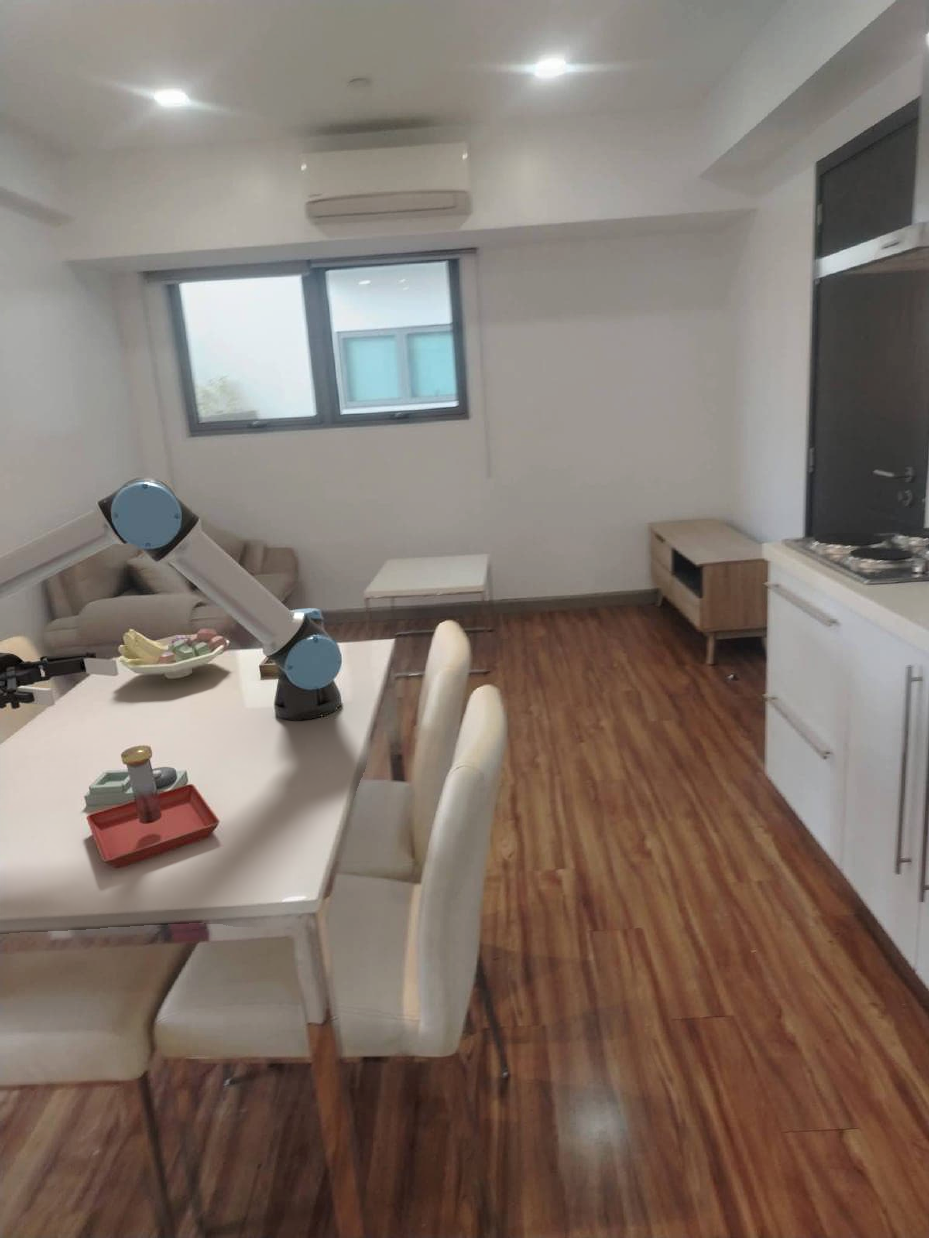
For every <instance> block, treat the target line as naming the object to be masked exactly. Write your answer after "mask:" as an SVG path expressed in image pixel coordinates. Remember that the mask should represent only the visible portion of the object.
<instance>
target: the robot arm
mask: <svg viewBox="0 0 929 1238" xmlns="http://www.w3.org/2000/svg"><path fill="white" fill-rule="evenodd" d="M127 543H129V544H130V545H132V546H134V547H137V548H139V549H140V550H142V552H143V553H145V554H146V555H147V556H148V557H150V558H151V559H152V560H153V561H154V562H156V563H157V564H170V565H171V566H172V567H174V568H175V569H176V570H177V571H179V573H181V574H182V575H183V576H184V577H185V578H186V579H188V580H189V581H190V582H191V583H192V584H193V585H194V586H196V587H197V588H198V590H200V591H201V592H202V593H203V594H205V595H206V596H207V597H208V598H210V599H211V600H212V601H213V602H215V604H216V605H218V606H219V607H220V608H221V609H222V610H224V612H226V613H227V614H228V615H229V616H231V617H232V618H233V619H234V620H235V621H236V622H237V623H239V625H241V627H244V629H246V630H247V631H248V632H249V633H250V634H252V635H253V636H254V637H255V639H257V640H258V641H259V642H261V644H262V654H263V655H264V656H265V657H268V658H269V659H270V660H271V661H272V662H273V663H275V664H276V669H277V675H276V676H277V683H276V689H275V690H276V691H275V695H274V700H273V701H274V702H273V706H274V714H275V715H276V716H277V717H278V718H279V719H282V720H283V719H284V720H287V719H289V720H288V721H303V720H302V719H307V720H313V719H317V718H316V717H318V718H320V717H319V716H321V715H324V716H326V715H325V714H327V713H329V712H332V711H334V710H335V709H336V708H338V707H339V706H340V705H341V706H342V704H341V702H342V695H341V691H340V689H339V688H338V685H337V684H336V681H335V679H336V677H338V675H339V673H340V672H341V671H340V670H341V667H342V663H343V659H342V653H341V650H340V646H339V643H337V642H336V641H335V640H334V639H333V638H332V637H331V636H330V634H328V632H327V631H326V630H325V627H324V617H323V614H322V611H321V609H319V608H314V607H308V608H299V609H291V610H290V609H289V608H288V607H287V606H286V605H285V604H283V603H282V601H280V600H279V599H278V598H277V597H276V596H274V594H273V593H271V592H270V591H269V590H268V589H267V588H266V587H264V586H263V585H262V584H261V582H259V581H258V580H257V579H255V578H254V576H253V575H251V574H250V573H249V572H248V571H247V570H246V569H245V568H244V567H242V565H240V564H239V563H238V562H237V561H236V560H234V558H233V557H232V556H231V555H229V554H228V553H227V552H226V551H225V550H224V549H222V548H221V546H219V545H218V544H217V543H216V542H215V541H214V540H213V539H212V538H210V537H209V535H207V534H206V533H205V532H204V531H203V530H202V520H201V518H200V517H199V516H198V515H197V514H196V513H195V512H194V511H193V510H191V509H190V508H189V507H188V506H187V505H186V504H185V503H184V502H182V501H181V499H179V497H177V496H176V494H175V493H174V491H173V490H172V488H171V487H170V486H168V485H167V484H166V483H164V482H163V481H161V480H159V479H156V478H153V477H148V476H147V477H146V476H145V477H144V476H143V477H137V478H134V479H131V480H129V481H127V482H126V483H124V484H123V485H121V486H120V488H118V489H117V490H116V491H114V492H112V493H110V494H109V495H108V496H105V497H104V498H102V499H99V500H98V501H96V503H95V506H94V508H93V509H92V510H90V511H88V512H86V513H84V514H82V515H80V516H77V518H74V519H72V520H70V521H68V522H67V523H64V524H62V525H60V526H58V527H56V528H54V529H52V530H50V531H49V532H46V533H44V534H42V535H41V536H38V537H36V538H34V539H32V540H30V541H29V542H26V543H25V544H22V545H20V546H18V547H16V548H14V549H12V550H10V551H8V552H7V553H4V554H2V555H0V603H1V602H2V601H5V600H7V599H9V598H10V597H12V596H14V595H16V594H19V593H20V592H22V591H24V590H27V589H28V588H30V587H32V586H34V585H36V584H38V583H40V582H42V581H44V580H46V579H48V578H49V577H51V576H53V575H55V574H57V573H59V572H62V571H64V570H66V569H67V568H69V567H71V566H73V565H76V564H77V563H80V562H81V561H83V560H85V559H87V558H90V557H91V556H93V555H95V554H97V553H99V552H102V550H105V549H107V548H110V547H111V546H113V545H115V544H117V545H122V546H124V545H126V544H127ZM41 670H42V671H43V672H44V675H43V676H42V672H41ZM118 670H119V669H118V665H117V660H115V659H105V658H97V655H96V652H85V653H78V654H77V653H76V654H65V655H53V656H52V655H51V656H49V655H46V656H45V655H43V656H42V655H41V657H39V660H38V661H36V660H35V661H31V660H30V661H29V660H28V661H24V660H23V659H22V658H21V657H20V656H18V655H16V654H15V653H10V652H9V653H8V652H0V709H1V710H2V709H4V708H6V707H7V704H10V707H11V709H12V710H14V709H15V710H16V709H19V708H21V704H26V705H36V706H45V707H54V706H55V705H56V702H55V698H54V694H53V690H52V688H50V687H49V688H47V687H37V686H29V685H34V684H35V683H41V682H47V681H50V680H51V678H53V677H55V678H56V677H61V676H66V675H73V674H78V673H79V674H80V673H86V674H87V675H88V674H89V675H97V676H99V675H100V676H108V677H109V676H111V677H116V676H118V675H119V671H118ZM342 703H343V702H342ZM341 706H340V707H341ZM340 707H339V708H340ZM339 708H338V709H339ZM335 711H336V710H335ZM335 711H334V712H335ZM332 713H333V712H332ZM327 715H328V714H327ZM321 717H322V716H321ZM312 718H313V719H312Z"/></svg>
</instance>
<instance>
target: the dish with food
mask: <svg viewBox="0 0 929 1238" xmlns="http://www.w3.org/2000/svg"><path fill="white" fill-rule="evenodd" d="M122 639H123V643H124V644H123V645H122V644H120V645H119V646H118V648H117V650H118V652H119V653H120V654H121V655H120V656H119V657H117V660H118V661H119V662H120V663H121V664H122V666H124V667H126V668H128V670H130V671H132V672H133V673H135V674H138V675H163V674H164V676H165V678H167V679H181V678H183V677H186V676H189V675H190V674H192V673H193V669H195V668H198V667H203V666H206V664H208V663H210V662H212V661H213V660H214V659H215V658H217V657H218V656H221V655H222V654H223V653H225V652H226V651H228V646H229V643H230V640H228V639H226V638H225V637H224V636H221V635H218V633H217V631H216V630H215V628H200V629H199V631H197V633H194V634H193V633H192V634H176V635H172V636H168V637H164V638H161V639H160V638H159V639H157V640H152V639H149V638H147V637H146V636H145V635H143V634H141V633H140V632H137V631H136V630H134V629H132V628H131V629H129V630H128V632H124V634H123V636H122Z"/></svg>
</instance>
